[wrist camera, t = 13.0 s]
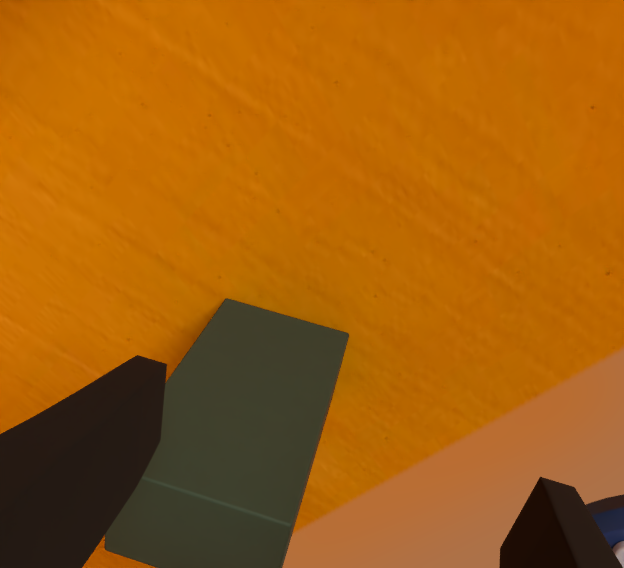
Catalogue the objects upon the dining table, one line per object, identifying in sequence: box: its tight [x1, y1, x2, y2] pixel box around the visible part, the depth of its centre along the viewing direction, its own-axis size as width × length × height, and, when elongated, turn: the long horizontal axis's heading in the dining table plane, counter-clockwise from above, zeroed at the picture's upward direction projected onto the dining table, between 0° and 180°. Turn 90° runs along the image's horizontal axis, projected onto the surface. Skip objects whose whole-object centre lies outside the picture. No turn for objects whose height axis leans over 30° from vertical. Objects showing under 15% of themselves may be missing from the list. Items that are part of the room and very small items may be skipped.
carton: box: [105, 299, 349, 568], centre depth 19 cm, size 9×5×4 cm
